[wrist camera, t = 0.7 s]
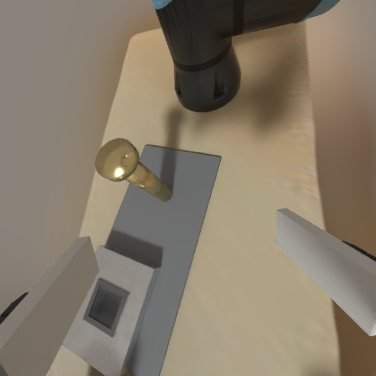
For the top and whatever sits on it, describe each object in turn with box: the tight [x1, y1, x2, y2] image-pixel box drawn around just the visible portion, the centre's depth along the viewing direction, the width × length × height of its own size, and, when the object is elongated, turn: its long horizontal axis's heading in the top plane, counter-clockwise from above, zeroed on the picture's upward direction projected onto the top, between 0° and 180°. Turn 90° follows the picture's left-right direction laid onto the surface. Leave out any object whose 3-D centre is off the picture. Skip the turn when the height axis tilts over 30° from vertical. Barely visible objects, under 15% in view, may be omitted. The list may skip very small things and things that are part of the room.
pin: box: [95, 138, 173, 202], centre depth 28 cm, size 5×5×16 cm
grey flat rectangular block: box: [62, 245, 161, 376], centre depth 30 cm, size 16×12×3 cm
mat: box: [102, 145, 221, 376], centre depth 34 cm, size 39×18×1 cm, turn 162°
